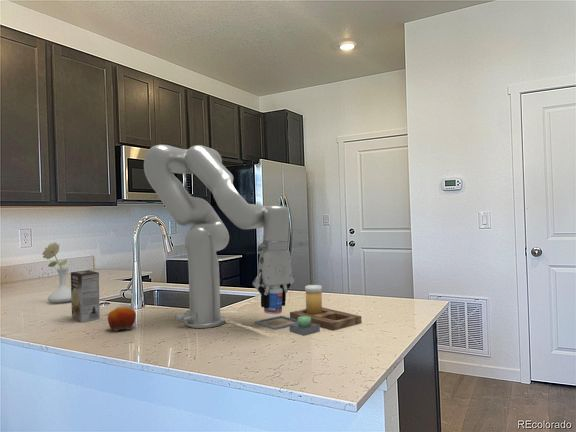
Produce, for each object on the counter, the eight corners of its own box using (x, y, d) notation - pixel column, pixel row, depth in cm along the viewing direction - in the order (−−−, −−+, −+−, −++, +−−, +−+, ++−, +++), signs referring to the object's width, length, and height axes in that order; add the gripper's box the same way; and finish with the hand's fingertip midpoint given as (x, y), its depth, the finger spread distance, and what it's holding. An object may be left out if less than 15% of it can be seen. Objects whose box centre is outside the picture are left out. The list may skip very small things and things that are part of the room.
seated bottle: (313, 320, 131) (312, 288, 131) (302, 317, 135) (301, 286, 135) (326, 318, 134) (325, 286, 134) (314, 315, 138) (314, 284, 138)
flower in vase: (69, 297, 186) (68, 240, 186) (83, 300, 179) (82, 241, 179) (38, 303, 175) (36, 242, 175) (51, 306, 169) (50, 243, 169)
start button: (303, 327, 117) (303, 319, 117) (295, 324, 120) (295, 317, 120) (313, 324, 119) (313, 317, 119) (305, 322, 122) (304, 315, 122)
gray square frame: (275, 333, 122) (275, 327, 122) (255, 327, 130) (255, 321, 130) (302, 327, 128) (302, 321, 128) (281, 321, 136) (281, 315, 136)
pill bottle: (279, 315, 126) (280, 282, 126) (262, 313, 127) (263, 281, 127) (283, 311, 132) (284, 279, 131) (266, 309, 133) (267, 278, 132)
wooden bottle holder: (332, 334, 119) (332, 323, 119) (290, 322, 134) (289, 312, 134) (361, 326, 127) (361, 316, 127) (318, 316, 142) (317, 306, 142)
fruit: (109, 330, 124) (108, 304, 128) (108, 339, 130) (106, 314, 134) (139, 326, 128) (136, 301, 132) (136, 335, 134) (133, 310, 138)
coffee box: (70, 318, 147) (69, 272, 147) (89, 315, 152) (88, 270, 152) (81, 322, 141) (80, 274, 141) (101, 319, 145) (99, 271, 145)
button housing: (303, 339, 115) (303, 328, 115) (289, 335, 120) (289, 324, 120) (320, 335, 119) (319, 324, 119) (305, 331, 124) (305, 320, 124)
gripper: (258, 248, 121) (256, 312, 121) (304, 246, 131) (302, 305, 132) (244, 246, 126) (242, 307, 127) (289, 244, 137) (287, 300, 138)
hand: (273, 305), depth 129 cm, fingers closed on pill bottle, 5 cm apart
